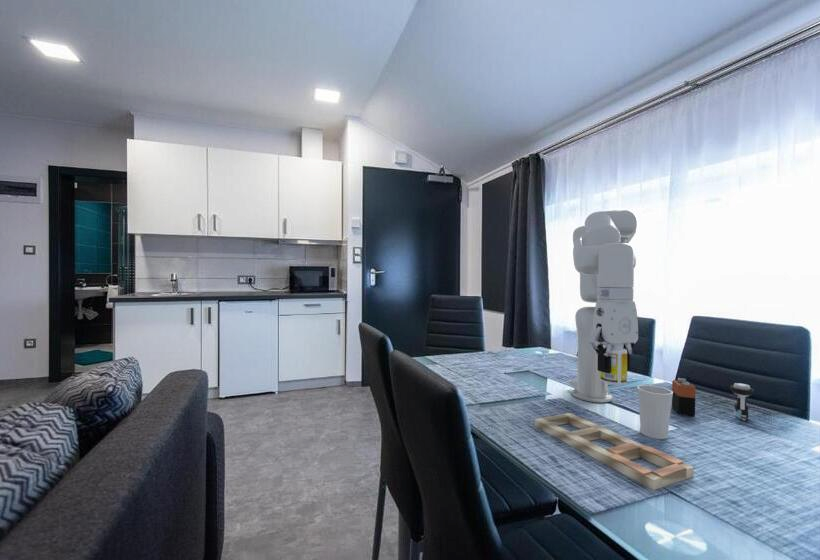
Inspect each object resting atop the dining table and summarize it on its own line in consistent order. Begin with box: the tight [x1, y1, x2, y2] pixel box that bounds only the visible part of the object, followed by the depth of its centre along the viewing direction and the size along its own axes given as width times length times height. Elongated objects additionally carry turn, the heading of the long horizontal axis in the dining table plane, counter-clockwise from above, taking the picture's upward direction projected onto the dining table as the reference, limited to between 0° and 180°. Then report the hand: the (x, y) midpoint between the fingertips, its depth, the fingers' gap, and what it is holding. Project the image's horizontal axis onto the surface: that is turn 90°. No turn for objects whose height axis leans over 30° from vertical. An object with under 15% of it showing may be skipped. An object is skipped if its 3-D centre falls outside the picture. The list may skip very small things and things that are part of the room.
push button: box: [729, 382, 755, 421], centre depth 110 cm, size 7×5×10 cm
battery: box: [671, 377, 697, 417], centre depth 115 cm, size 4×7×10 cm, turn 160°
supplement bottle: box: [601, 341, 628, 386], centre depth 87 cm, size 6×6×10 cm
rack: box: [534, 412, 695, 491], centre depth 90 cm, size 33×13×2 cm, turn 23°
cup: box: [636, 384, 673, 440], centre depth 98 cm, size 8×8×12 cm
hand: (613, 370), depth 87 cm, fingers closed on supplement bottle, 5 cm apart
